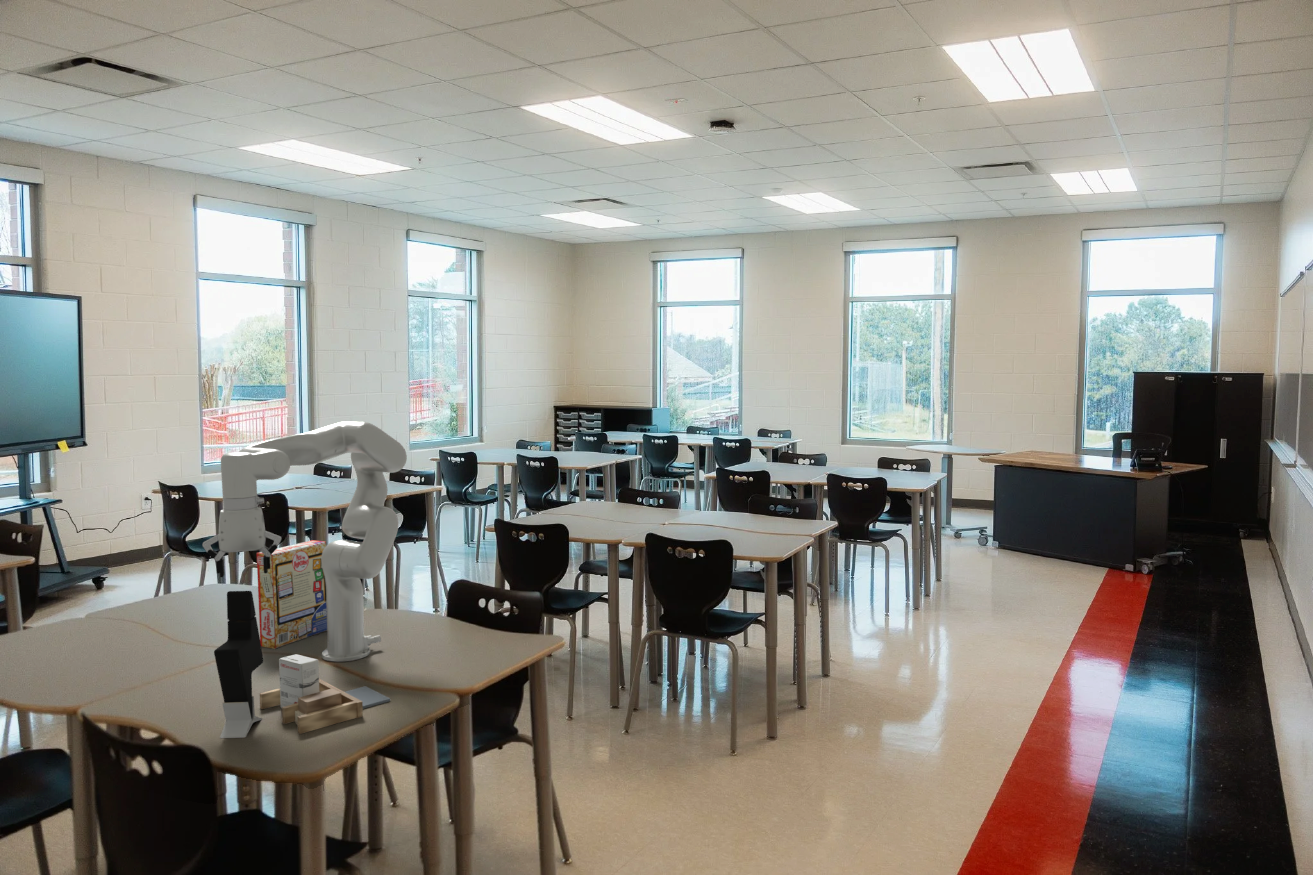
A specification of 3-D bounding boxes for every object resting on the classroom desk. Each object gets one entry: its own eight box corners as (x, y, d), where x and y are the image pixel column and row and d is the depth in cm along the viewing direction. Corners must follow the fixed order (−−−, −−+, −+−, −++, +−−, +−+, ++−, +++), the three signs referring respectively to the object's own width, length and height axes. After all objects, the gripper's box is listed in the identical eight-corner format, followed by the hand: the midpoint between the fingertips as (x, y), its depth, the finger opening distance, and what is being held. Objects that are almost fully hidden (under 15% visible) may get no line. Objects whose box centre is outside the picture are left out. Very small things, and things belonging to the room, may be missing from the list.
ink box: (321, 708, 210) (320, 658, 210) (303, 715, 206) (301, 664, 205) (297, 701, 215) (296, 652, 214) (279, 707, 211) (277, 658, 210)
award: (242, 714, 207) (238, 584, 204) (266, 714, 207) (262, 583, 205) (215, 742, 192) (210, 601, 189) (241, 741, 192) (236, 600, 190)
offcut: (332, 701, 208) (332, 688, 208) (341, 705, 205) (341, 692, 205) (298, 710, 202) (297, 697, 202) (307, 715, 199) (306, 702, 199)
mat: (365, 688, 224) (365, 685, 224) (390, 700, 215) (390, 698, 215) (334, 696, 218) (334, 694, 218) (358, 709, 210) (358, 707, 210)
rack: (318, 692, 221) (318, 678, 221) (362, 716, 206) (362, 701, 205) (259, 707, 211) (258, 692, 211) (301, 734, 196) (300, 718, 195)
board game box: (315, 628, 276) (312, 539, 274) (330, 630, 273) (328, 541, 271) (258, 646, 257) (255, 551, 255) (274, 649, 255) (271, 553, 253)
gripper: (280, 499, 225) (283, 567, 227) (202, 503, 219) (206, 574, 221) (278, 503, 218) (282, 574, 220) (198, 509, 212) (202, 581, 214)
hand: (244, 574), depth 220 cm, fingers open, 9 cm apart
